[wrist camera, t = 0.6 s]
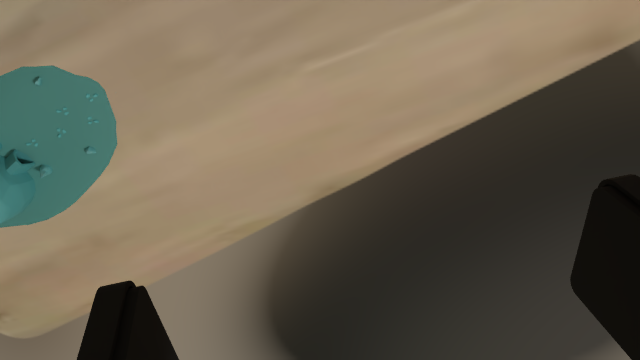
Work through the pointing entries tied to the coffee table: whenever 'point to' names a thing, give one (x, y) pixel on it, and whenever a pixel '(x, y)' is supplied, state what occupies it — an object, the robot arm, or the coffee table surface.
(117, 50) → the coffee table surface
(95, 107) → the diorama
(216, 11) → the coffee table surface
